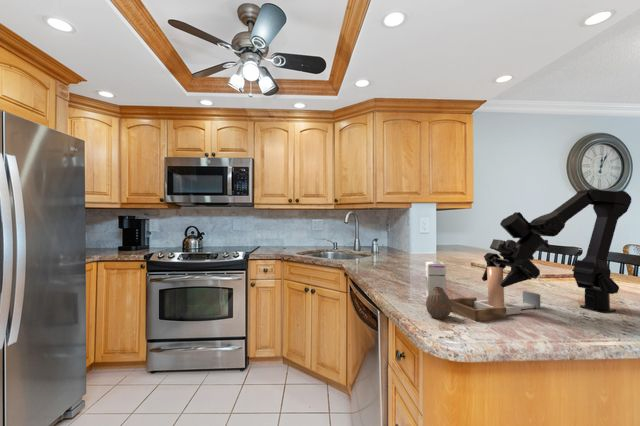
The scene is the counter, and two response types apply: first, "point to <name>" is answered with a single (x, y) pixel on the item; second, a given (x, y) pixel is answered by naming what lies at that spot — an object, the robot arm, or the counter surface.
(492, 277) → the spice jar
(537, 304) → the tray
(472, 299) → the dock
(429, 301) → the vase
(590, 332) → the counter surface
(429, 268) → the syrup box
